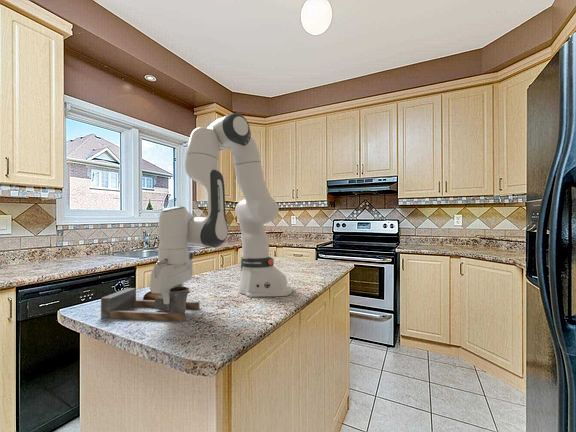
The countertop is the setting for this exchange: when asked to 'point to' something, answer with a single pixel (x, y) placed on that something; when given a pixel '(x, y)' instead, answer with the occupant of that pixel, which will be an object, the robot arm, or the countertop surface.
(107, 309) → the channel
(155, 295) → the sunglasses case
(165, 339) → the countertop surface
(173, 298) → the pipe
